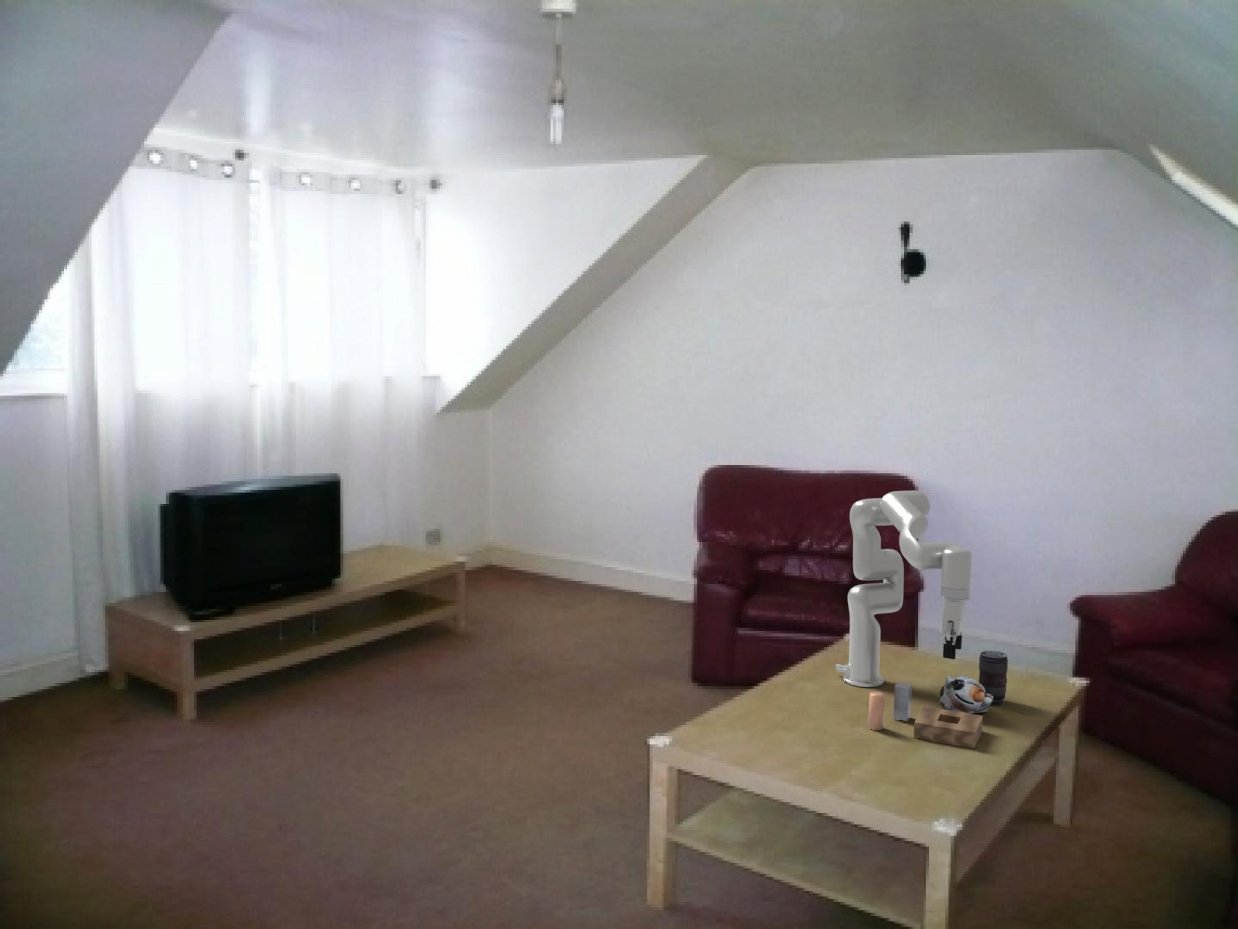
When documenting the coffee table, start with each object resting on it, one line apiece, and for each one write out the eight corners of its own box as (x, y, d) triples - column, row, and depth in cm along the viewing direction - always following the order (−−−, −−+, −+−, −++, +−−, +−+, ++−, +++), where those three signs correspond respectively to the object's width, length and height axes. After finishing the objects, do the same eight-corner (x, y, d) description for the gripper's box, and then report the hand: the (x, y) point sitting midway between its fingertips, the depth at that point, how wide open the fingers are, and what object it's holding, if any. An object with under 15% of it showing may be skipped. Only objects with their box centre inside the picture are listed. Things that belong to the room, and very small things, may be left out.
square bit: (893, 719, 297) (894, 686, 296) (896, 715, 301) (897, 682, 300) (907, 722, 295) (908, 688, 294) (910, 717, 299) (911, 684, 298)
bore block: (913, 738, 284) (914, 722, 283) (923, 721, 296) (924, 706, 296) (974, 749, 277) (975, 732, 276) (982, 731, 289) (982, 715, 288)
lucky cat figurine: (994, 708, 307) (1004, 676, 298) (978, 734, 299) (988, 702, 291) (946, 685, 314) (955, 653, 306) (930, 709, 306) (938, 677, 298)
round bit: (866, 729, 290) (868, 695, 289) (870, 724, 293) (871, 691, 292) (880, 732, 288) (882, 697, 287) (884, 727, 292) (885, 693, 290)
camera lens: (1001, 697, 316) (1004, 650, 314) (1008, 707, 308) (1011, 658, 306) (974, 696, 317) (976, 649, 315) (980, 706, 309) (983, 657, 307)
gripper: (946, 584, 291) (943, 643, 293) (935, 598, 275) (932, 660, 278) (974, 587, 287) (971, 647, 289) (964, 601, 272) (961, 664, 274)
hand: (952, 653), depth 283 cm, fingers open, 9 cm apart
